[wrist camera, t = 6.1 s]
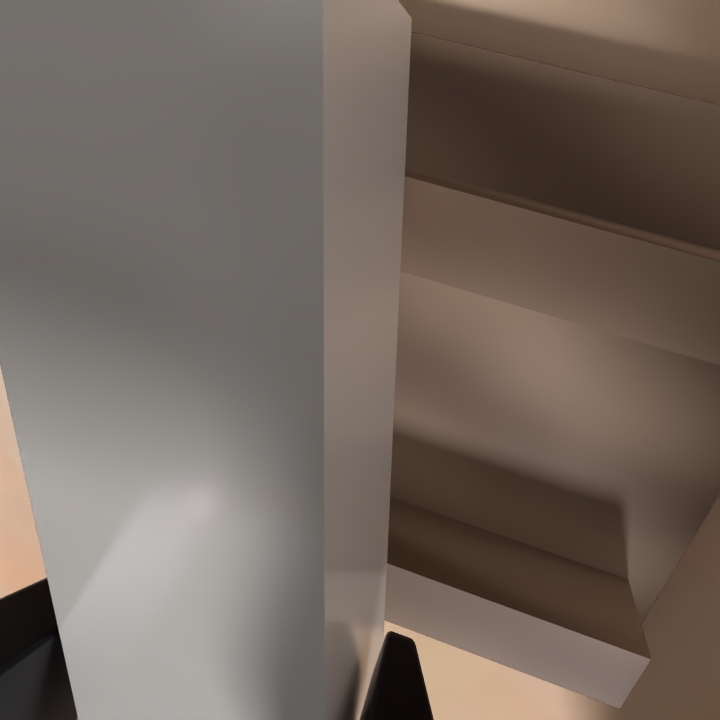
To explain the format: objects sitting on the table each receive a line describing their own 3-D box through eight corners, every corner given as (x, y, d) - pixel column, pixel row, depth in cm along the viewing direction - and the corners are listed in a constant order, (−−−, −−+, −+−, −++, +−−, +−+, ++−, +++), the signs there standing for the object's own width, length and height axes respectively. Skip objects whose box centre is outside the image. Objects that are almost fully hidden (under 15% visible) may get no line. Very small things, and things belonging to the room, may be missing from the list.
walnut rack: (592, 672, 20) (612, 787, 17) (97, 488, 23) (20, 553, 19) (895, 153, 13) (1043, 156, 10) (127, -31, 16) (15, -83, 12)
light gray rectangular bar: (373, 857, 12) (325, 1111, 9) (238, 817, 13) (148, 1040, 10) (412, 18, 7) (322, -101, 4) (169, 25, 7) (-95, -72, 4)
